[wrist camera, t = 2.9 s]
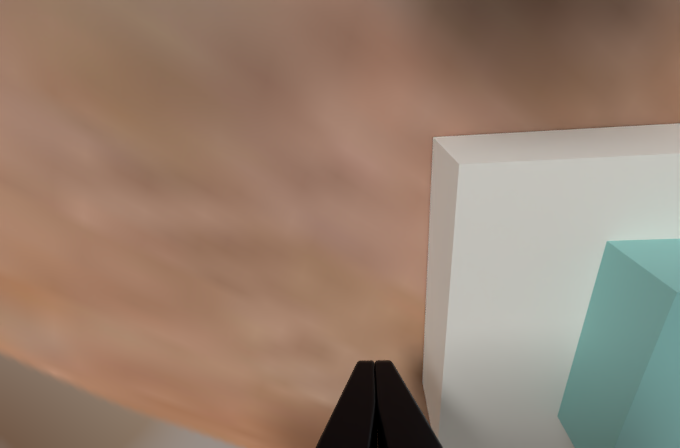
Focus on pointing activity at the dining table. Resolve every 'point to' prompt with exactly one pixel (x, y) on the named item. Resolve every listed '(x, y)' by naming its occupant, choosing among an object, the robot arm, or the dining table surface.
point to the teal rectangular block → (628, 352)
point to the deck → (528, 267)
